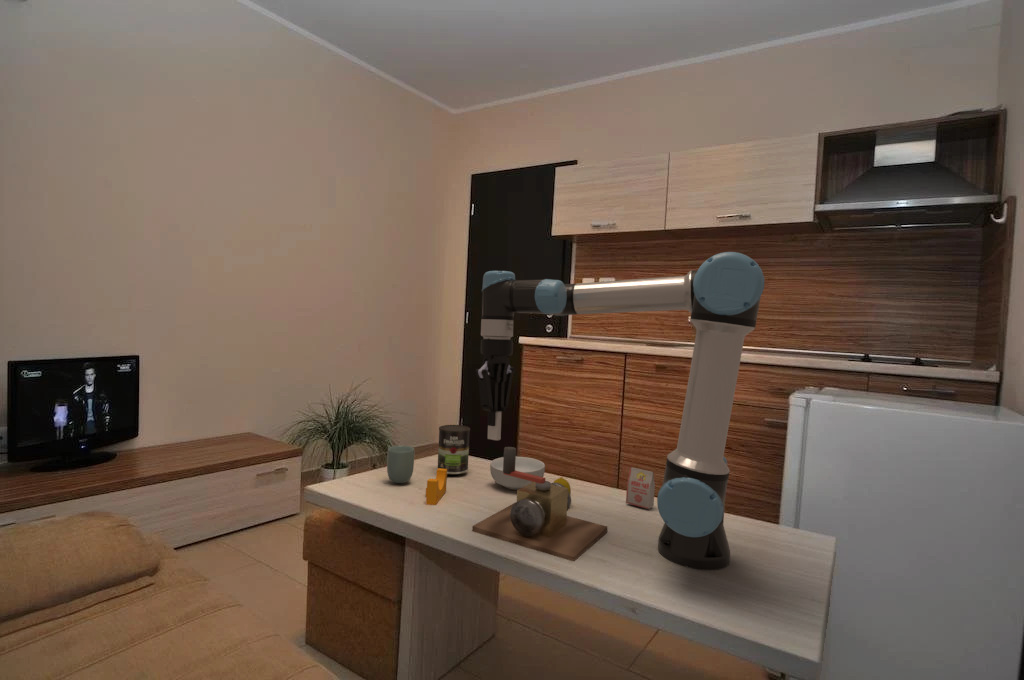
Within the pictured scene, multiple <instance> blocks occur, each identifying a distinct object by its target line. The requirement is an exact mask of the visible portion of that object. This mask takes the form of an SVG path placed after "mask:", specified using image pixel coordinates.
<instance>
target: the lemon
mask: <svg viewBox="0 0 1024 680" xmlns="http://www.w3.org/2000/svg"><path fill="white" fill-rule="evenodd" d="M552 483H559V484H562V485H563V486H564V487H565V488H568V491H569V493H570V496H572V495H571V493H572V491H571V485H570V483H569V481H568V480H566V479H565V478H563V476H560V477H559V478H556V479H554V481H553V482H552Z"/></svg>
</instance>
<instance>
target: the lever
mask: <svg viewBox="0 0 1024 680" xmlns="http://www.w3.org/2000/svg"><path fill="white" fill-rule="evenodd" d="M516 453H517V448H516V447H513V446H505V447H504V448H503V457H504V460H503V474H505V475H509V476H513V477H517V478H521V479H525V480H528V481H532V482H536V489H538V490H550V489H551V483H552V482H551V481H548V480H546V477H544V476H543V477H540V476H536V475H532V474H528V473H524V472H519V471H515V460H516V457H517V454H516Z"/></svg>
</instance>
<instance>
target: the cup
mask: <svg viewBox="0 0 1024 680" xmlns="http://www.w3.org/2000/svg"><path fill="white" fill-rule="evenodd" d="M386 455H387V456H386V458H387V459H386V469H387V470H386V472H387V473H386V474H387V477H388V479H389V481H391V482H392V483H394V484H395V483H396V484H403V483H406V482H408V481H410V480H411V478H412V476H413V473H414V465H415V448H414V447H413V446H410V445H402V444H401V445H400V444H399V445H393V446H390V447H388V448H387V453H386Z"/></svg>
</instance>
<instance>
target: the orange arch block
mask: <svg viewBox="0 0 1024 680" xmlns="http://www.w3.org/2000/svg"><path fill="white" fill-rule="evenodd" d="M447 479H448V474H447V469H442V468H438V469H436V476H435V478H428V480H427V481H426V488H425V497H426V500H425V505H428V506H436V505H437V504H438V503H439V501H440V500H441V498H442V497H443V496H444V495H445V493H446V492H447Z"/></svg>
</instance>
